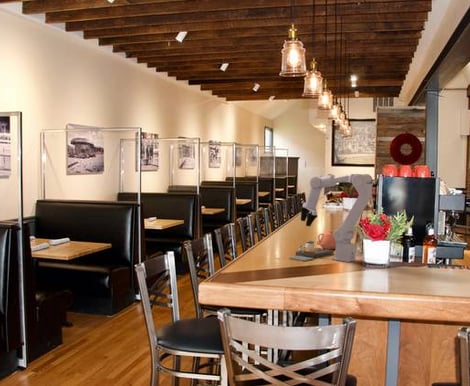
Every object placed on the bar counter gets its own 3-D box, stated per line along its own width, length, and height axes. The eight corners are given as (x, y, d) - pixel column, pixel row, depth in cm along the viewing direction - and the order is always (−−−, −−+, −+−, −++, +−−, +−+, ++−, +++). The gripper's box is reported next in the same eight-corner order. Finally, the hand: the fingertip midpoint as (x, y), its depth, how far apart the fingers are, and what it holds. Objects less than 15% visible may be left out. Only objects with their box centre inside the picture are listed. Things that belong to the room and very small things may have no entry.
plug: (317, 256, 253) (317, 241, 252) (310, 257, 249) (311, 242, 248) (308, 254, 257) (308, 240, 256) (301, 255, 253) (302, 241, 252)
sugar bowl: (343, 250, 272) (344, 232, 272) (318, 250, 273) (318, 231, 272) (339, 247, 285) (339, 229, 284) (314, 246, 285) (315, 228, 284)
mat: (313, 259, 242) (313, 258, 242) (304, 261, 237) (304, 260, 237) (298, 256, 249) (298, 255, 249) (289, 258, 243) (289, 257, 243)
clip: (312, 250, 258) (312, 244, 258) (300, 252, 250) (301, 246, 250) (309, 249, 259) (309, 243, 259) (297, 251, 252) (298, 245, 251)
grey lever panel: (333, 254, 260) (333, 250, 260) (311, 258, 246) (312, 254, 246) (317, 251, 267) (317, 247, 267) (295, 255, 253) (295, 251, 252)
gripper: (300, 193, 261) (293, 217, 264) (310, 202, 248) (303, 227, 251) (312, 195, 263) (305, 219, 266) (323, 204, 250) (315, 229, 253)
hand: (305, 223), depth 259 cm, fingers open, 7 cm apart
